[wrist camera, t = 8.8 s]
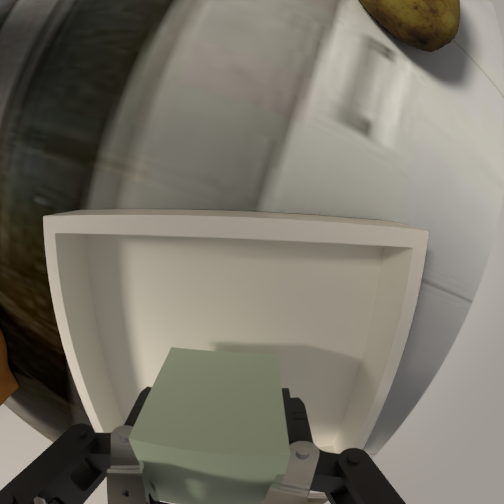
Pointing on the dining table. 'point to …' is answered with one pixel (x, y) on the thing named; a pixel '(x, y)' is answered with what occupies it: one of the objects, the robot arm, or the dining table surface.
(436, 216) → the dining table surface
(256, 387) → the green cube
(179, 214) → the bin
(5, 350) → the coffee package
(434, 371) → the dining table surface
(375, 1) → the potato
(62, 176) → the dining table surface
